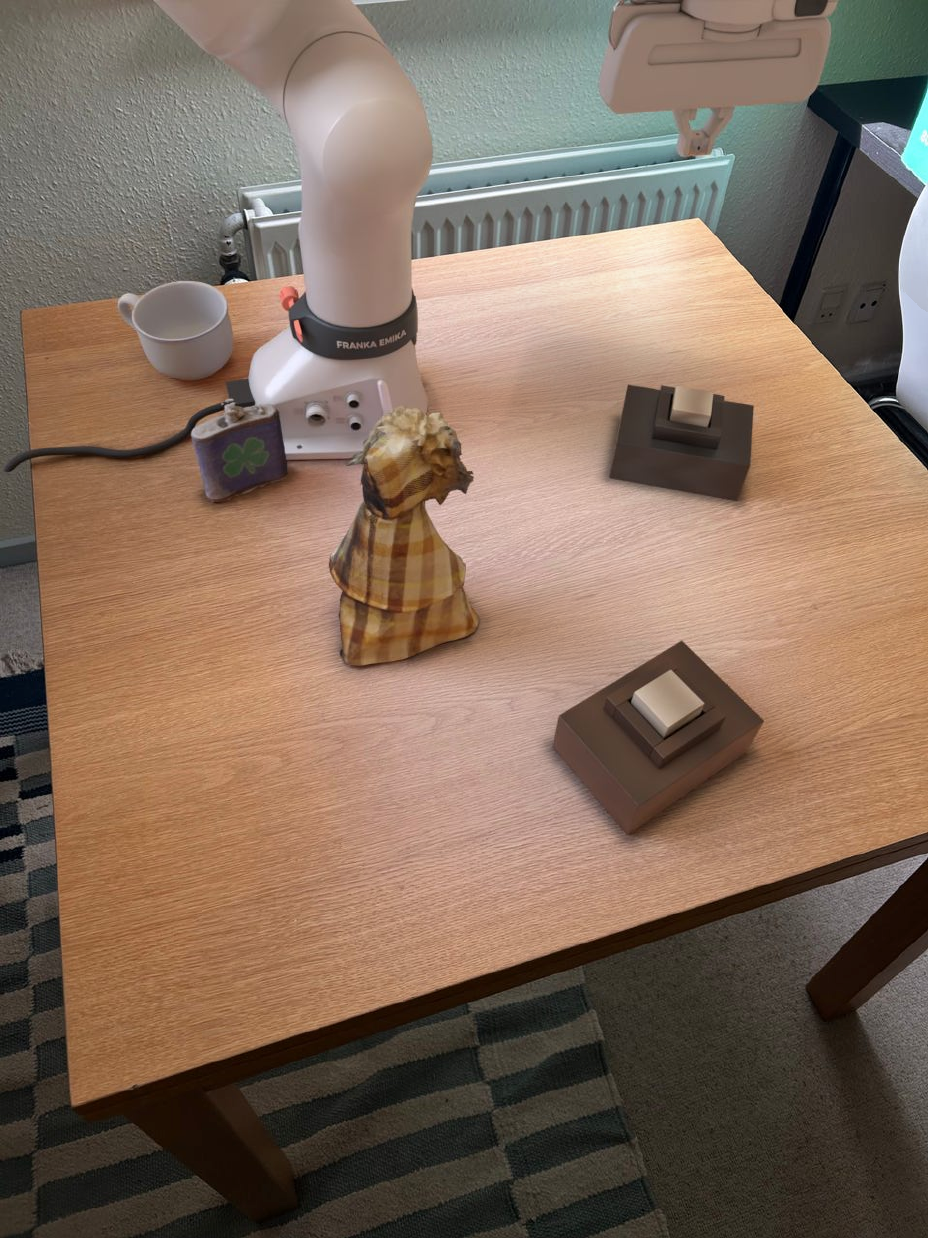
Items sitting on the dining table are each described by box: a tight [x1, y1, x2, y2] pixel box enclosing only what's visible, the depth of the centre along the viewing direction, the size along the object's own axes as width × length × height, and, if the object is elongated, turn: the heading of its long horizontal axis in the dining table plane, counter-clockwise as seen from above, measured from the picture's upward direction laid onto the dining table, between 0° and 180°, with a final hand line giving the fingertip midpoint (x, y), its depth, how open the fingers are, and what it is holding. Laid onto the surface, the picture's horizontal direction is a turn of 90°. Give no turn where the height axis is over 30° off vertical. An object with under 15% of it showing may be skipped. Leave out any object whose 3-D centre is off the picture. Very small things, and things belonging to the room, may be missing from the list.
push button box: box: [551, 640, 765, 836], centre depth 77 cm, size 14×10×7 cm
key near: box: [631, 670, 704, 738], centre depth 74 cm, size 4×4×2 cm
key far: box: [669, 385, 714, 427], centre depth 97 cm, size 4×4×2 cm
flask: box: [190, 398, 290, 503], centre depth 94 cm, size 9×3×11 cm, turn 121°
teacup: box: [117, 280, 234, 381], centre depth 108 cm, size 14×11×8 cm
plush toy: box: [328, 406, 481, 667], centre depth 79 cm, size 14×14×25 cm
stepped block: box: [608, 384, 755, 502], centre depth 100 cm, size 14×10×7 cm
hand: (692, 153), depth 87 cm, fingers closed
